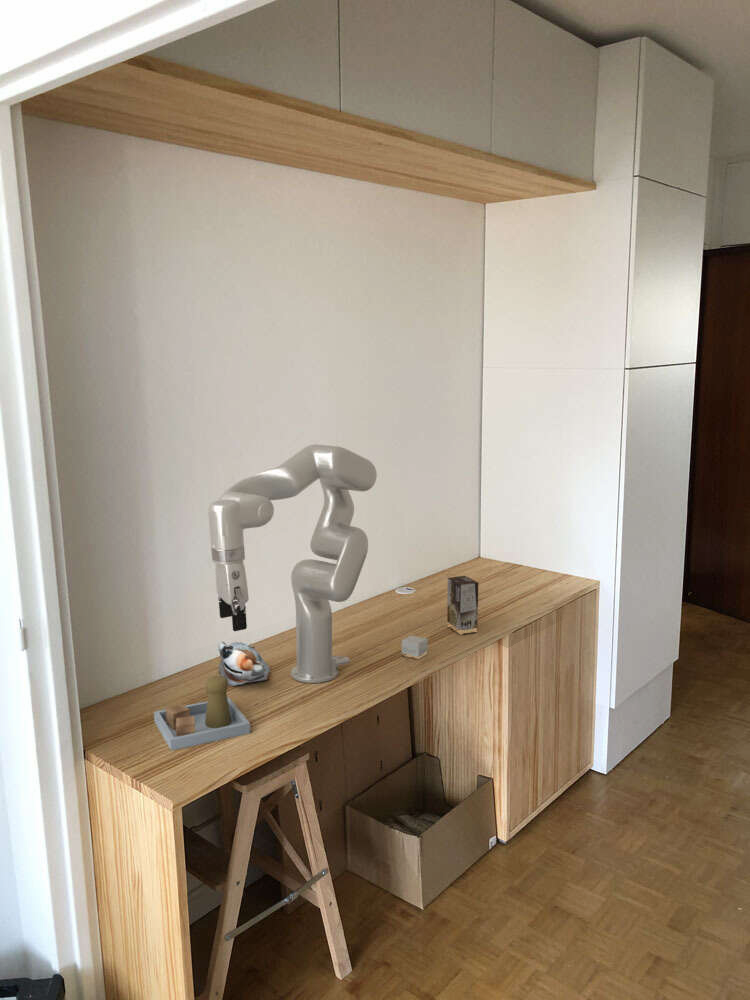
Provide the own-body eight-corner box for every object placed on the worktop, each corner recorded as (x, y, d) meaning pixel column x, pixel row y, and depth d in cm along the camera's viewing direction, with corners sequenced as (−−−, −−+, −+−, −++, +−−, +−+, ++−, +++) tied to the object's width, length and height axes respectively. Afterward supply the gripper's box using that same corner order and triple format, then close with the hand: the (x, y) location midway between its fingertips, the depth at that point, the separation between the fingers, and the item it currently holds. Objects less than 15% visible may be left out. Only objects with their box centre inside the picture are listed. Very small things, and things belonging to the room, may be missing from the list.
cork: (219, 714, 198) (218, 670, 196) (236, 721, 194) (235, 677, 192) (199, 723, 193) (197, 678, 191) (216, 730, 189) (215, 685, 187)
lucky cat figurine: (280, 674, 223) (279, 640, 214) (253, 705, 215) (250, 671, 206) (236, 650, 229) (233, 616, 220) (208, 680, 220) (203, 645, 212)
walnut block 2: (195, 732, 188) (194, 716, 188) (195, 740, 185) (194, 724, 184) (177, 734, 188) (176, 717, 187) (176, 742, 184) (176, 725, 183)
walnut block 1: (182, 719, 195) (182, 703, 194) (190, 725, 192) (189, 709, 191) (166, 724, 193) (165, 708, 192) (173, 730, 189) (173, 714, 189)
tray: (228, 708, 202) (228, 696, 202) (250, 735, 188) (249, 723, 188) (154, 723, 194) (153, 711, 194) (171, 753, 180) (170, 740, 180)
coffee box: (478, 633, 255) (479, 582, 252) (459, 635, 253) (460, 584, 250) (464, 623, 264) (465, 574, 261) (446, 626, 261) (447, 576, 258)
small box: (428, 654, 238) (428, 638, 237) (418, 660, 233) (418, 644, 232) (411, 650, 241) (411, 634, 240) (400, 656, 236) (400, 640, 235)
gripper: (256, 560, 186) (261, 631, 190) (231, 542, 201) (236, 609, 205) (224, 565, 182) (229, 638, 186) (201, 547, 197) (207, 615, 201)
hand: (233, 623), depth 195 cm, fingers open, 9 cm apart
